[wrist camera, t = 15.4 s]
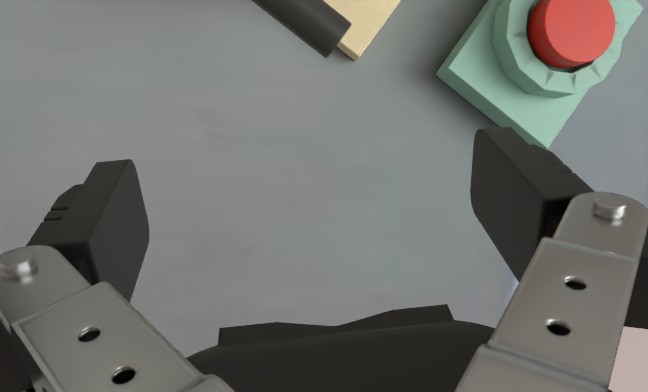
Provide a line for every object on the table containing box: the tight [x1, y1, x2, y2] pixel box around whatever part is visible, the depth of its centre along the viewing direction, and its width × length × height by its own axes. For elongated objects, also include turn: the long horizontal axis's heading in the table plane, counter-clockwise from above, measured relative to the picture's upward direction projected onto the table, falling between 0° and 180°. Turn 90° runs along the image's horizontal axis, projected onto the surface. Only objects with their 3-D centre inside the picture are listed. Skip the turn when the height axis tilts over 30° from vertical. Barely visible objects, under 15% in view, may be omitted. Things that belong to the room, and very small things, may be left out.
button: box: [528, 0, 615, 69], centre depth 33 cm, size 4×4×2 cm
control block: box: [435, 0, 643, 149], centre depth 35 cm, size 11×8×4 cm
